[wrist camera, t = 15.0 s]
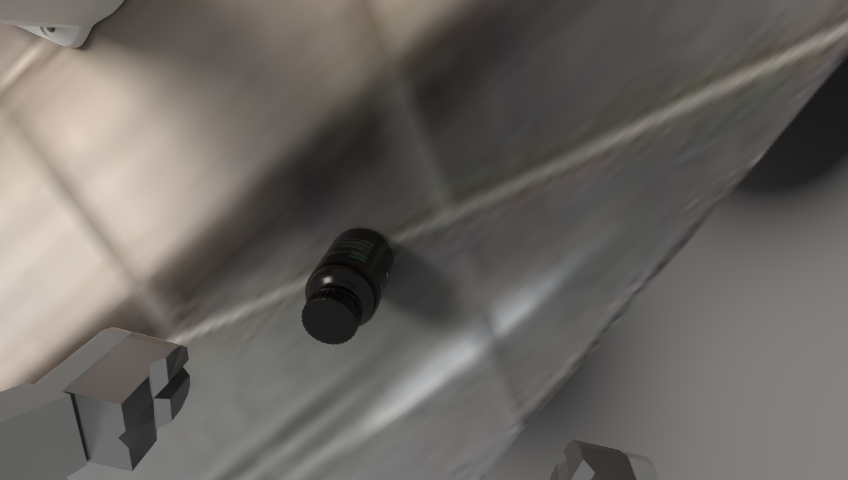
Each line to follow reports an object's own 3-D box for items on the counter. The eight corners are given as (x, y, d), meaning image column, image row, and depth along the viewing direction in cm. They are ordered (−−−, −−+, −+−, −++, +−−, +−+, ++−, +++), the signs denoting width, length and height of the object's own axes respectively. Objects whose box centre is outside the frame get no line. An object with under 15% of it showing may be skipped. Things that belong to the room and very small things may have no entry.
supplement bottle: (386, 288, 47) (360, 363, 36) (328, 272, 47) (285, 342, 36) (400, 236, 44) (376, 301, 33) (337, 219, 44) (293, 277, 33)
